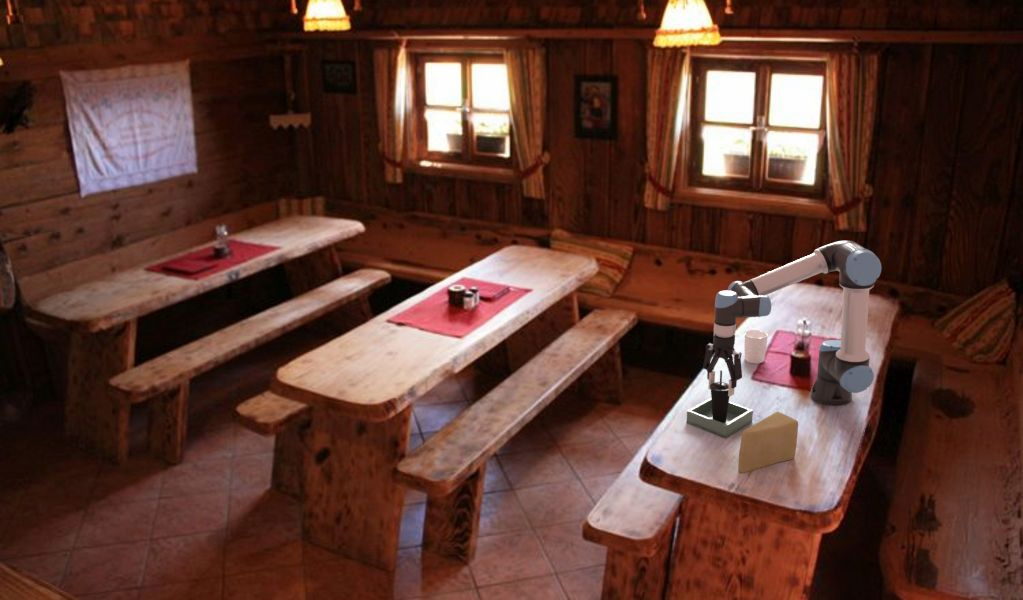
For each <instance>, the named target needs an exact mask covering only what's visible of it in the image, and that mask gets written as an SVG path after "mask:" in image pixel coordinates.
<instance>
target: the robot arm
mask: <svg viewBox="0 0 1023 600" xmlns="http://www.w3.org/2000/svg"><path fill="white" fill-rule="evenodd" d="M835 271H836V272H837V271H838V272H839V277H838V278H839V279H838V280H839V283H838V285H839V286H840V287H841V288H842V289H843V290H842V291H843V292H842V311H841V312H842V313H841V330H840V331H841V332H840V339H830V340H825V341H822V342H821V343H820V345H819V349H818V361H817V371H816V372H817V373H816V374H817V375H816V378H815V380H814V382H813V384H812V386H811V389H810V394H809V395H810V398H811V399H812V400H813V401H815V402H817V403H819V404H822V405H826V406H832V407H834V406H835V407H838V406H846V405H848V404H850V403H851V402H852V399H853V398H852V397H853V394H858V393H861V392H864V391H866V390H867V389H868V388H869V387H870V386H872V384H873V382H874V379H875V373H874V371H873V369H872V368H871V367H870V356H871V355H870V353H869V352H868V351H867V350H866V348H867V347H866V345H867V331H868V315H869V314H868V313H869V301H870V300H869V299H870V290H872V289H873V288H874V286H875V283H876V281H877V279H879V277H880V275H881V273H882V263H881V261H880V259H879V257H878V256H877V255H876V254H875V253H874V252H873V251H871V250H869V249H867V248H865V247H864V246H861V245H860V244H859V243H857V242H855V241H854V240H838V241H835V242H834V241H833V242H832V243H829V244H825V245H822V246H821V247H818V248H816V249H814V251H813V253H811V254H809V255H807V256H803V257H801V258H799V259H796V260H794V261H792V262H789V263H786V264H785V265H783V266H780V267H777V268H775V269H773V270H770V271H767V272H766V273H764V274H760V275H758V276H756V277H754V278H751V279H748V280H747V281H741V280H736V281H732V282H731V283H730V284H729V286H728V287H727V290H720V291H718V292H717V293H716V295H715V300H714V301H715V302H714V322H713V336H712V337H713V338H712V343H711V342H709V343H708V344H705V355H704V359H703V364H702V369H704V370H706V371H707V374H706V375H707V376H706V378H707V380H708V385H707V388H708V390H711V389H710V385H711V384H712V383H715V382H716V380H715V379H716V370H715V367H716V365H717V363H718V361H719V360H720V359H723V360H724V362H725V364H726V367H727V369H728V373H729V376H730V378H729V379H728V384H729V388H728V396H729V398H730V397H731V396H734V395H735V388H737V383H738V382H737V381H739V380H741V379H742V378H743V371H742V352H741V351H739V352H738V351H736V349H735V344H736V328H737V327H736V324H737V319H742V318H761V317H767V316H770V314H771V313H772V302H771V298H770V297H769V295H770V294H773V293H774V292H777V291H780V290H782V289H785V288H787V287H789V286H792V285H794V284H796V283H797V284H798V283H799V282H802V281H804V280H806V279H809V278H811V277H813V276H816V275H819V274H821V273H822V274H828V273H831V272H835ZM713 351H714V353H713Z"/></svg>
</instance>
